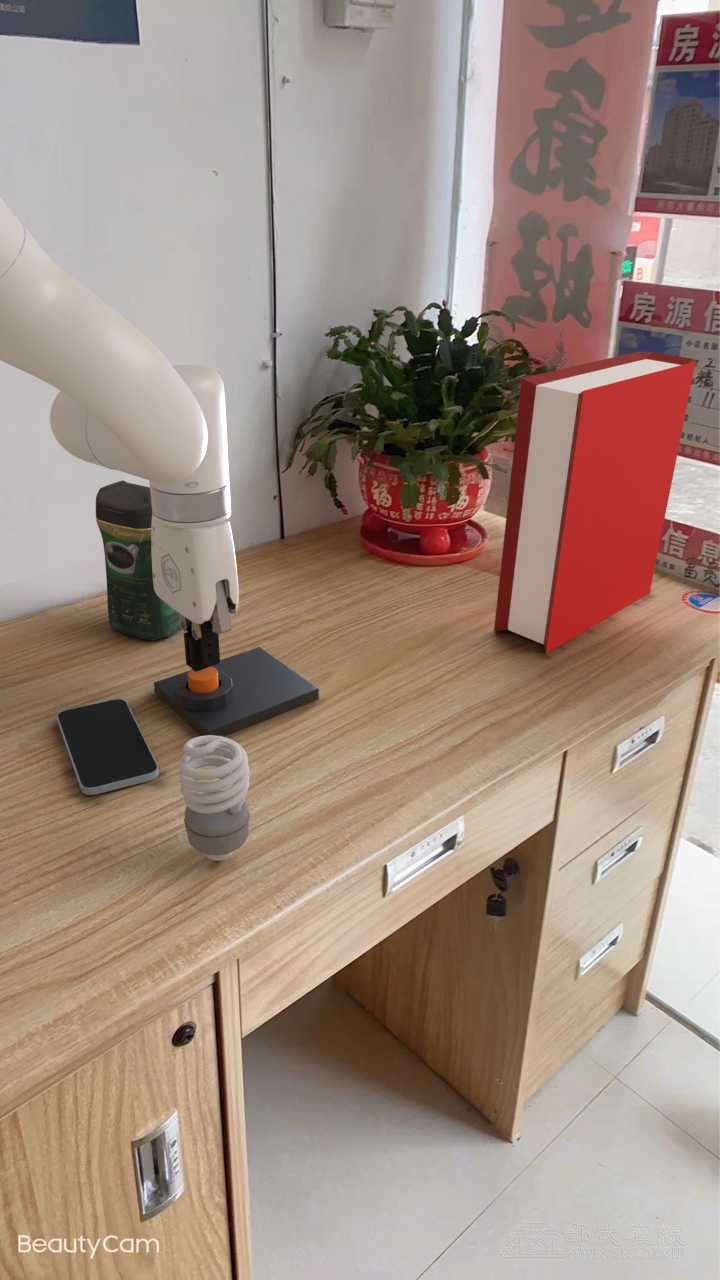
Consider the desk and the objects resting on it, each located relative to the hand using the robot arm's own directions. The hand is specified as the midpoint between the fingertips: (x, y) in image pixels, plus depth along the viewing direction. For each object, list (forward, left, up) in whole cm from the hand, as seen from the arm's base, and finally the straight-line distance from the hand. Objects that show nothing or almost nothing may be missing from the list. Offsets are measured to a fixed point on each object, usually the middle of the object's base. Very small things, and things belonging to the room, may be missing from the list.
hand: (203, 664), depth 94 cm
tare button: (0, 0, -3) cm, 3 cm away
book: (+53, -9, -6) cm, 54 cm away
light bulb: (-11, -22, -6) cm, 25 cm away
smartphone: (-12, -1, -5) cm, 13 cm away
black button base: (+4, 0, -5) cm, 7 cm away
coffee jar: (+4, +21, -6) cm, 22 cm away
